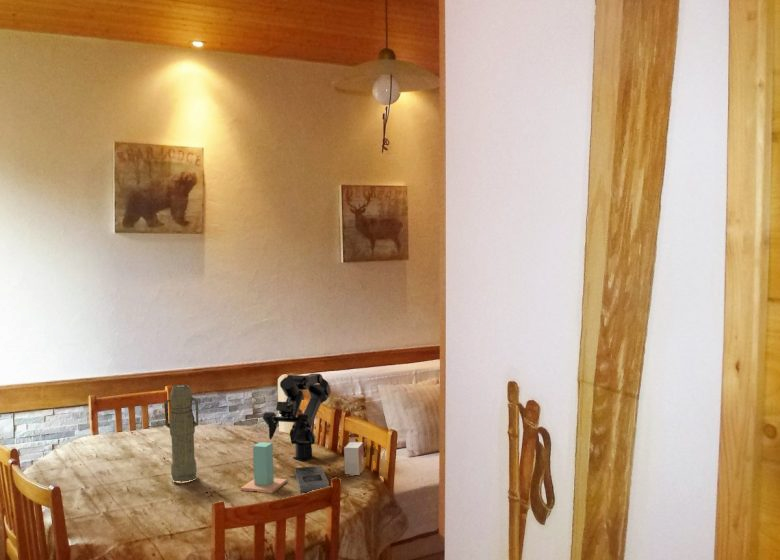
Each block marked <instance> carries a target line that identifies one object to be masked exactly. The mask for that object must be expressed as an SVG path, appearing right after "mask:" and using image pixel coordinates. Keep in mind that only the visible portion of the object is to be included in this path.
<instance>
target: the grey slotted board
mask: <svg viewBox="0 0 780 560" xmlns="http://www.w3.org/2000/svg"><path fill="white" fill-rule="evenodd" d="M294 474H295V475H294V476H295V479H296V482H297V486H298V490H299V493H300V494H304V493H305V492H309V491H312V490H316V489H320V488H324V487H327V486H329V487H330V482H329V479H328V478H327V476H326V475H327V474H326V473H325V470H324V468H323V466H322V465H312V466H303V467H295V468H294ZM309 493H310V492H309ZM305 494H306V493H305Z"/></svg>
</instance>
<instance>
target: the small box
mask: <svg viewBox="0 0 780 560" xmlns="http://www.w3.org/2000/svg"><path fill="white" fill-rule="evenodd" d="M343 453H344V454H343V458H344V461H343V462H344V475H345V474H350V475H349V476H354V475H359V476H360V475H361V474H362V473H363V472H364V470H365V464H364V457H365V456H364V442H363V441H360V442H358V441H349V442H348V443H347V444H346V445H345V446H344V447H343ZM363 469H364V470H363ZM360 473H361V474H360Z"/></svg>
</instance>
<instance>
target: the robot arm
mask: <svg viewBox="0 0 780 560" xmlns="http://www.w3.org/2000/svg"><path fill="white" fill-rule="evenodd" d="M279 386H280V388H281V390H282V392H283V394H284V395H285V397H286V400H285V401H276V406H275V407H276V408H275V411H278V414H279V415H281V416H279V415H277V414H276V413H275V412H272V411H270V412H269V411H266V412H264V413H263V415H262V419H263V421H264V422H265V424H266V425H267V426H268V438H269V440H272V439H273V437H274V434H275V432H276V430H277V428H278V423H279V422H280V423H281V422H282V423H283V422H285V423H293V424H292V425H291V429H290V431H289V437H290V442H291V445H295V456H292V459H293V460H294V459H295V460H297V461H300V462H301V461H302V462H305V461H308V460H312V459H315V458H316V456H315V455H313V447H312V445H314V444H316V435H315V433H314V432H313V427H312V426H313V423H314V420H315V419H316V415H317V414H318V412H319V409H320V407H321V404H322V403H324V402H326V401H327V400H328V398H329V397H330V396H331V387H330V384H329V382H328V381H327V380H326V379H324V378H323V375H322V374H320V373H309V374H307V375H299V374H298V375H295V374H287V376H286V377H284V378H283V379H282V380H281V381H280V383H279ZM307 390H308V392H309V395H310V396H309V397H310V399H309V400H308V403H307V405H306V407H305V409H304V412H303V413H301V408H300V407H301V404H302V401H304V400H305V396H304V393H303V391H307Z"/></svg>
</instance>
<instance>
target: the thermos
mask: <svg viewBox="0 0 780 560" xmlns="http://www.w3.org/2000/svg"><path fill="white" fill-rule="evenodd" d="M193 401H194V403H195V415H194V413H193V409H192V407H193ZM169 403H170V409H171V410H170V417H169ZM198 403H199V400H198V399H197V398H196V397H193V394H192V390H191V388H190V386H189V385H188V384H177V385H174V386H172V388H171V391H170V397H169V398H168V399H167V400H166V401H165V402H164V405H163V407H164V418H165V427H167V428H168V429H169V435H170V437H171V457H172V463H171V466H170V467H171V468H170V472H171V480H172V479H173V480H174V481H181V482H182V481H189V480H193V479H195V478H196V479H197V471H198V470H197V460H196V459H195V440H194V439H195V431H196V430H195V429H196V427H197V426H199V404H198ZM195 420H196V421H195Z"/></svg>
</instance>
